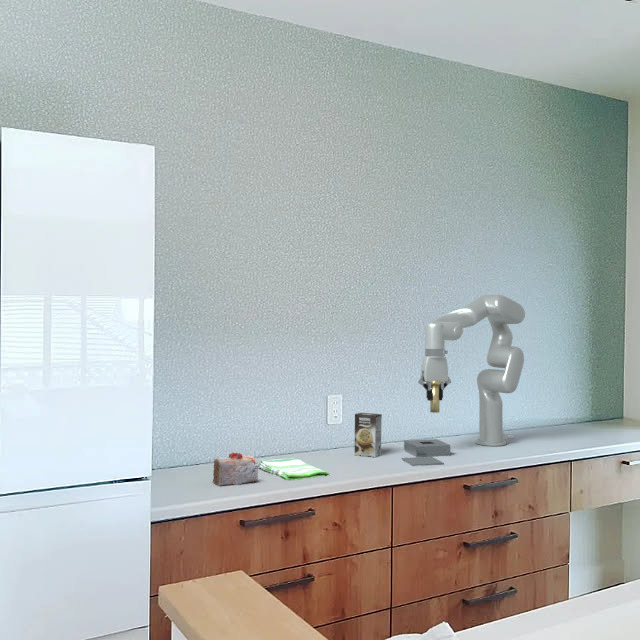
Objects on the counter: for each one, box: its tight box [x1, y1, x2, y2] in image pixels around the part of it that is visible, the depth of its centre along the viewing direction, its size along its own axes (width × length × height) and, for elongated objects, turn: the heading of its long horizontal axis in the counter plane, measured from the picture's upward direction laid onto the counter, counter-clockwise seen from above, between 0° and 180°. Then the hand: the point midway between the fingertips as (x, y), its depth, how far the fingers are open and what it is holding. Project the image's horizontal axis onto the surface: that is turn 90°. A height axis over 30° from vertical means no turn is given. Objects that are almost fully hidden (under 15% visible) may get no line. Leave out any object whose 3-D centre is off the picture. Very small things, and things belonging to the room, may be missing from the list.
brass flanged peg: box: [429, 381, 441, 414], centre depth 279 cm, size 5×5×12 cm
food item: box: [212, 452, 259, 487], centre depth 231 cm, size 14×8×10 cm, turn 116°
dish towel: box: [258, 457, 330, 481], centre depth 248 cm, size 17×23×4 cm
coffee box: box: [354, 412, 383, 458], centre depth 277 cm, size 9×6×16 cm
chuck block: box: [403, 438, 451, 457], centre depth 282 cm, size 14×14×4 cm
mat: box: [401, 456, 445, 466], centre depth 264 cm, size 12×12×1 cm
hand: (434, 399), depth 280 cm, fingers closed on brass flanged peg, 3 cm apart
